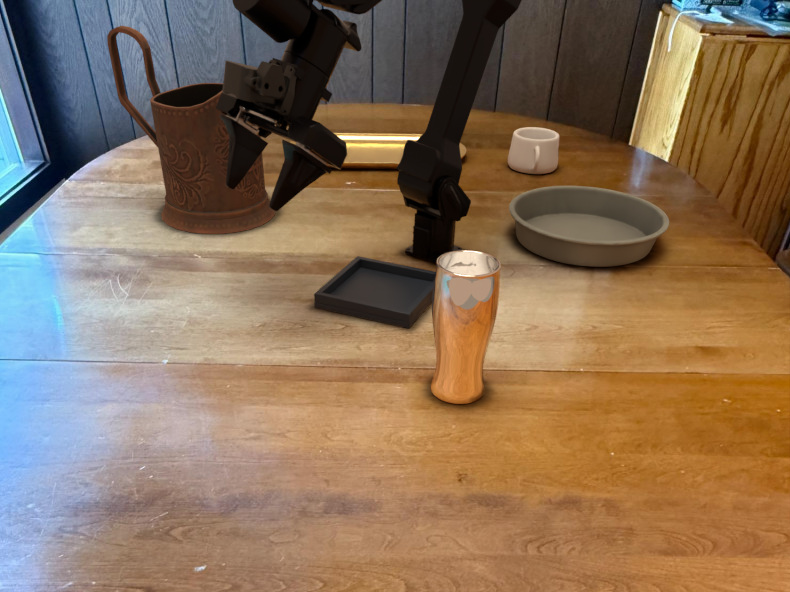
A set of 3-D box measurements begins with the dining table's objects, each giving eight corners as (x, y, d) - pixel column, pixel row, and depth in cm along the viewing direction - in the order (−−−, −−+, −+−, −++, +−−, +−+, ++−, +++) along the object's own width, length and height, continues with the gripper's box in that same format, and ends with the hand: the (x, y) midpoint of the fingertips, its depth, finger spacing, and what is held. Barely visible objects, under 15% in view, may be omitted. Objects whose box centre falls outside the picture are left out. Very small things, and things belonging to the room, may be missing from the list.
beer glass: (483, 410, 86) (499, 280, 76) (422, 402, 87) (429, 272, 77) (490, 378, 91) (506, 252, 81) (432, 371, 92) (440, 245, 82)
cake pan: (689, 268, 116) (697, 238, 113) (531, 276, 112) (535, 245, 109) (627, 209, 134) (633, 182, 131) (489, 214, 130) (492, 186, 127)
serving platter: (471, 172, 146) (472, 163, 145) (284, 170, 144) (284, 161, 143) (460, 142, 160) (460, 134, 159) (289, 140, 158) (289, 132, 157)
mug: (505, 158, 153) (509, 125, 149) (554, 160, 153) (559, 127, 149) (508, 178, 144) (512, 143, 140) (560, 180, 144) (566, 146, 140)
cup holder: (243, 241, 119) (222, 52, 102) (108, 218, 124) (67, 36, 108) (293, 201, 132) (282, 29, 115) (169, 182, 137) (141, 15, 121)
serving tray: (357, 269, 113) (357, 255, 111) (445, 287, 109) (446, 273, 108) (314, 307, 103) (313, 293, 102) (409, 328, 99) (409, 314, 98)
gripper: (207, 10, 87) (154, 146, 91) (307, 38, 77) (243, 190, 81) (278, 67, 96) (227, 188, 100) (376, 99, 86) (315, 232, 90)
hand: (250, 198), depth 92 cm, fingers open, 9 cm apart
